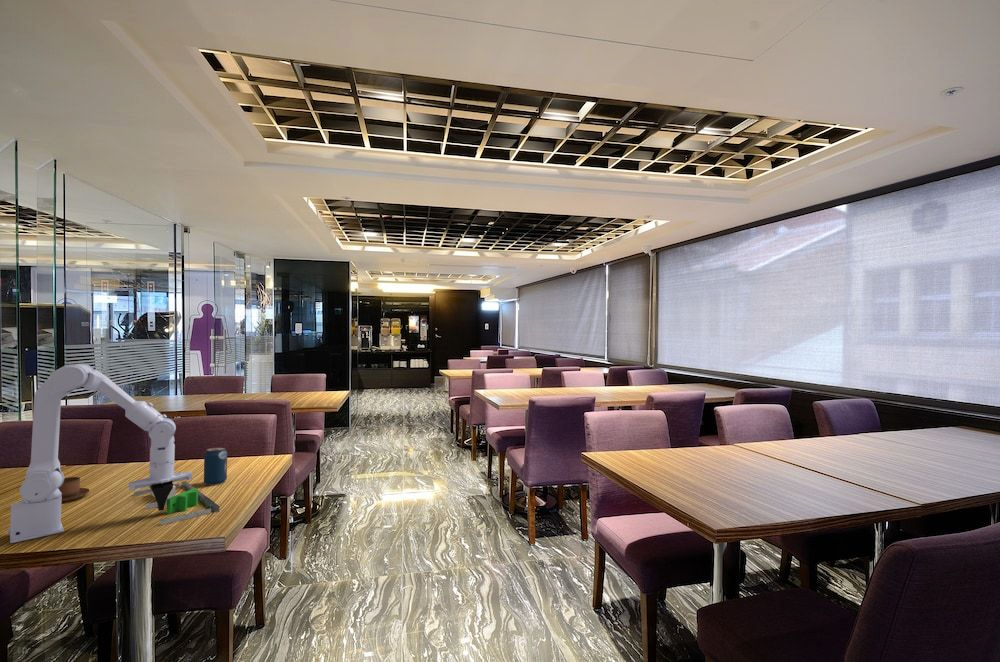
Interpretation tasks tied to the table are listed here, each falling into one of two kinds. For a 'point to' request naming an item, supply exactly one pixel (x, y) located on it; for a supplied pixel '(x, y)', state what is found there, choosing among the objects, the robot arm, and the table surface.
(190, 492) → the pipe clamp
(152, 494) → the seated block
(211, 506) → the grey pronged frame
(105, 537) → the table surface
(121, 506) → the table surface
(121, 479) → the table surface
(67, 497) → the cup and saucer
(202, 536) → the table surface
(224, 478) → the soda can
